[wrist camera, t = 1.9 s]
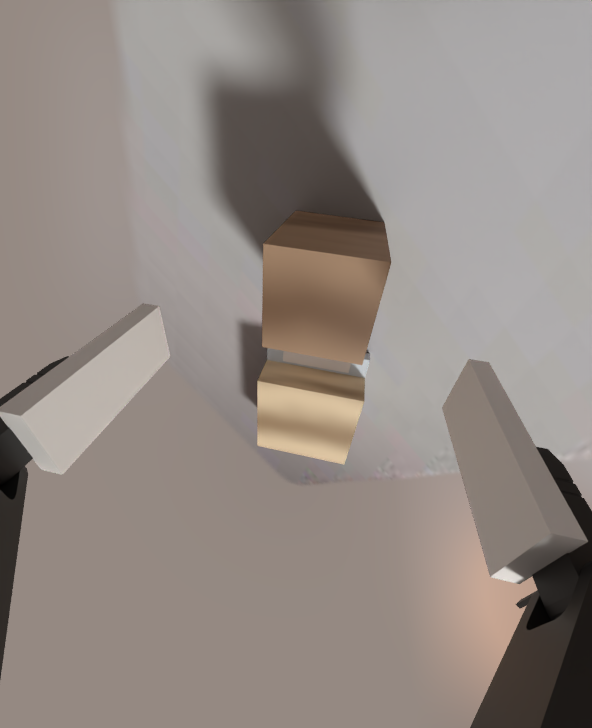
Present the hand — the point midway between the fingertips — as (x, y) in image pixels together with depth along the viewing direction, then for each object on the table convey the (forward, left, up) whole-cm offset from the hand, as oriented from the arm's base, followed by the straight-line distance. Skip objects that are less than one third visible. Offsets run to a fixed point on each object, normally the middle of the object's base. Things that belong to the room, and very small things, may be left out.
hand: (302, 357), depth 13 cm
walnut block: (0, 0, -12) cm, 12 cm away
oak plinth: (+14, 0, -11) cm, 17 cm away
